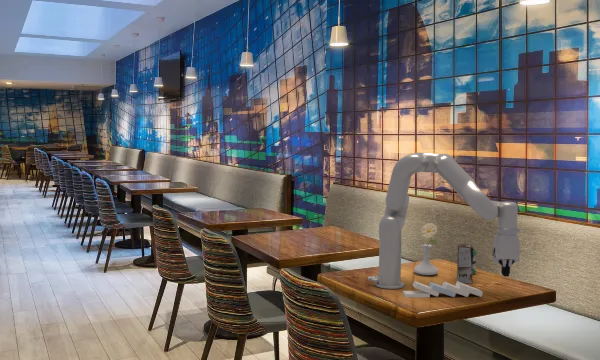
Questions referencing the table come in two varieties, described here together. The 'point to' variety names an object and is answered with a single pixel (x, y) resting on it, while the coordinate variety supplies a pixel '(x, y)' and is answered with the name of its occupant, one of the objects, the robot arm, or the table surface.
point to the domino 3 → (441, 289)
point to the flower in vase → (427, 251)
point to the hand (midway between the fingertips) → (505, 275)
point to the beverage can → (474, 261)
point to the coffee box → (464, 263)
